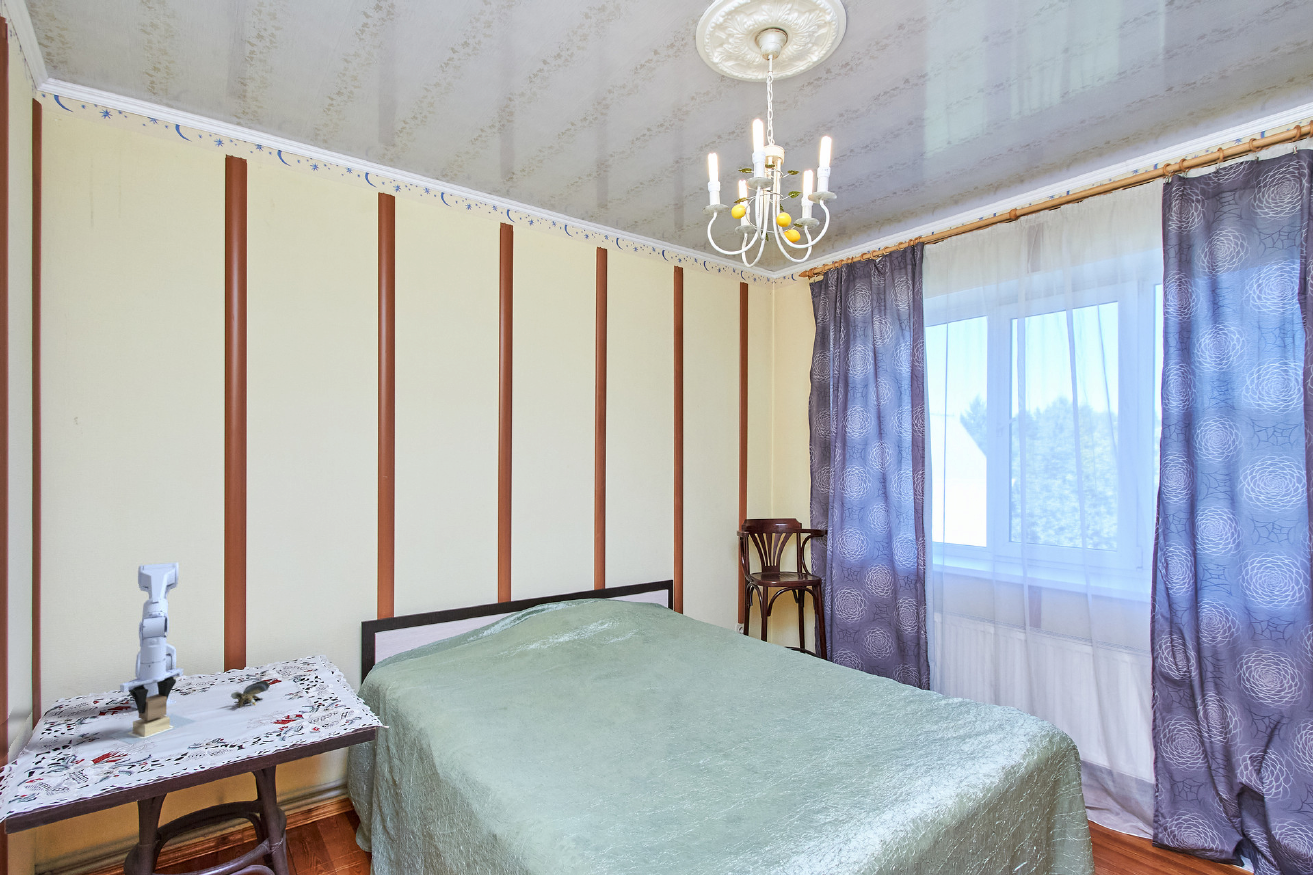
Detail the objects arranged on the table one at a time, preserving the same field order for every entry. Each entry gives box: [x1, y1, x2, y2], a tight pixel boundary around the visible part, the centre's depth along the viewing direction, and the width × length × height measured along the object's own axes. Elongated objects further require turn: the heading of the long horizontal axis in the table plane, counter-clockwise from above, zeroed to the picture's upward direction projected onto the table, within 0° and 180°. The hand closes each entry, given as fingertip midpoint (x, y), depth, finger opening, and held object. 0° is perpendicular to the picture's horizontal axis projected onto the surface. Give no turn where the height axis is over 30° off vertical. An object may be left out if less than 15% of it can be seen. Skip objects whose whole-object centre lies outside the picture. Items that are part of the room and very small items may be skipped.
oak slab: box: [132, 715, 170, 737], centre depth 174 cm, size 6×6×3 cm
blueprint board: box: [107, 713, 197, 745], centre depth 176 cm, size 12×16×1 cm
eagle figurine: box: [230, 680, 271, 709], centre depth 194 cm, size 8×7×9 cm
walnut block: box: [138, 694, 167, 721], centre depth 174 cm, size 4×4×5 cm
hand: (151, 709), depth 174 cm, fingers closed on walnut block, 4 cm apart
